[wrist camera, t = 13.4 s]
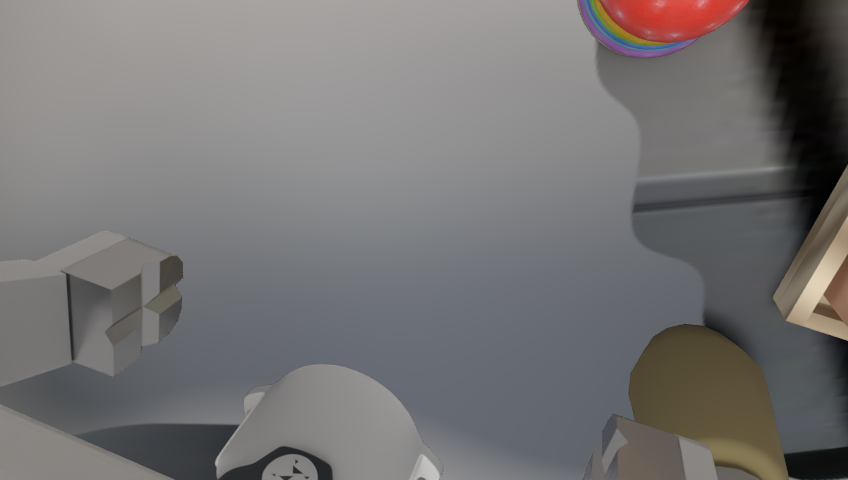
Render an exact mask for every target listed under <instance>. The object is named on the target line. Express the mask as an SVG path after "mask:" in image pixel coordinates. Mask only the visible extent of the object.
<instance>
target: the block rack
mask: <svg viewBox="0 0 848 480" xmlns="http://www.w3.org/2000/svg"><path fill="white" fill-rule="evenodd" d="M847 254H848V165H847V167H846V169H845V171H844V172H843V174H842V176H841V178H840V179H839V181H838V183H837V185H836V186H835V188H834V190H833V192H832V193H831V195H830V197H829V199H828V200H827V202H826V204H825V206H824V208H823V209H822V211H821V213H820V215H819V216H818V218H817V220H816V222H815V223H814V225H813V227H812V229H811V230H810V232H809V234H808V236H807V237H806V239H805V241H804V243H803V244H802V246H801V248H800V250H799V252H798V253H797V255H796V257H795V259H794V260H793V262H792V264H791V266H790V267H789V269H788V271H787V273H786V274H785V276H784V278H783V280H782V281H781V283H780V285H779V287H778V288H777V290H776V292H775V294H774V295H773V299H774V301H775V303H776V304H777V306H778V308H779V310H780V312H781V313H782V315H783V317H784V319H785V320H786V321H788V322H791V323H795V324H798V325H801V326H804V327H807V328H810V329H813V330H817V331H820V332H823V333H826V334H829V335H832V336H835V337H839V338H842V339H845V340H848V327H847V326H846V325H845V323H844V322H843V321H842V319H841V318H840V317H839V315H838V314H837V313H836V311H835V310H834V309H833V307H832V306H831V304H830V303H829V302H828V300H827V299H826V298H825V296H824V295H823V294H824V292H825V290H826V289H827V287H828V285H829V284H830V282H831V280H832V279H833V277H834V276H835V274H836V272H837V271H838V269H839V267H840V266H841V264H842V263H843V261H844V259H845V258H846V256H847Z"/></svg>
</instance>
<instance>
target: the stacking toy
mask: <svg viewBox="0 0 848 480" xmlns="http://www.w3.org/2000/svg"><path fill="white" fill-rule="evenodd" d="M748 1H749V0H577V3H578V8H579V11H580V15H581V17H582V20H583V22H584V24H585V25H586V27H587V29H588V30H589V32H590V33H591V34H592V35H593V36H594V37H595V38H596V40H597V41H599V42H600V43H601V44H602V45H604V46H605V47H607V48H608V49H610V50H612V51H614V52H616V53H619V54H622V55H625V56H629V57H636V58H652V57H659V56H664V55H668V54H671V53H674V52H676V51H678V50H680V49H683V48H684V47H686V46H688V45H690V44H691V43H693V42H694V41H696V40H697V39H698V38H699V37H701V36H703V35H705V34H707V33H709V32H712V31H714V30H716V29H717V28H719V27H720V26H722V25H723V24H725V23H726V22H728V21H729V20H730V19H731V18H733V17H734V16H735V15H736V14H737V13H738V12H739V11H740V10H741V9H742V8H743V7H744V6H745V5H746V4H747V3H748Z"/></svg>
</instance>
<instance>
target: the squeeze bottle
mask: <svg viewBox="0 0 848 480" xmlns="http://www.w3.org/2000/svg"><path fill="white" fill-rule="evenodd" d="M629 398H630V402H631V406H632V410H633V414H634V419H635V421H636V422H639V423H642V424H645V425H647V426H650V427H653V428H656V429H659V430H662V431H665V432H667V433H670V434H673V435H674V434H676V435H679V436H682V437H685V438H688V439H691V440H694V441H697V442H700V443H703V444H706V445H707V446H708V447H709V448H710V449H711V453H712V457H713V461H714V465H715V469H716V473H717V477H718V480H789V477H788V473H787V468H786V464H785V460H784V456H783V451H782V447H781V443H780V438H779V434H778V430H777V426H776V421H775V417H774V413H773V409H772V404H771V400H770V396H769V392H768V388H767V385H766V382H765V379H764V375H763V372H762V369H761V368H760V367H759V366H758V365H757V364H756V363H755V361H754V360H753V359H752V358H751V357H750V356H749V355H748V354H747V353H746V352H745V351H744V350H742V349H741V348H740V347H738V346H737V345H736V344H734V343H733V342H731V341H730V340H729V339H727V338H726V337H724V336H723V335H722V334H720V333H718V332H716V331H714V330H712V329H709V328H707V327H705V326H699V325H688V324H684V325H678V326H674V327H670V328H667V329H665V330H663V331H662V332H660V333H659V334H657V335H656V336H654V337H653V338H652V339H651V341H650V342H649V344H648V346H647V347H646V348H645V350H644V352H643V354H642V355H641V357H640V358H639V360H638V362H637V363H636V365H635V367H634V368H633V370H632V372H631V375H630V384H629Z"/></svg>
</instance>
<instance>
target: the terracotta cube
mask: <svg viewBox="0 0 848 480" xmlns="http://www.w3.org/2000/svg"><path fill="white" fill-rule="evenodd" d="M823 295H824V296H825V298H826V299H827V300H828V302H829V303H830V304H831V306H832V307H833V309H834V310H835V311H836V313H837V314H838V315H839V317H840V318H841V319H842V321H843V322H844V323H845V325H846V326H847V327H848V254H847V256H846V258H845V259H844V261H843V263H842V264H841V266H840V267H839V269H838V271H837V272H836V274H835V276H834V277H833V279H832V280H831V282H830V284H829V285H828V287H827V289H826V290H825V292H824V294H823Z"/></svg>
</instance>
